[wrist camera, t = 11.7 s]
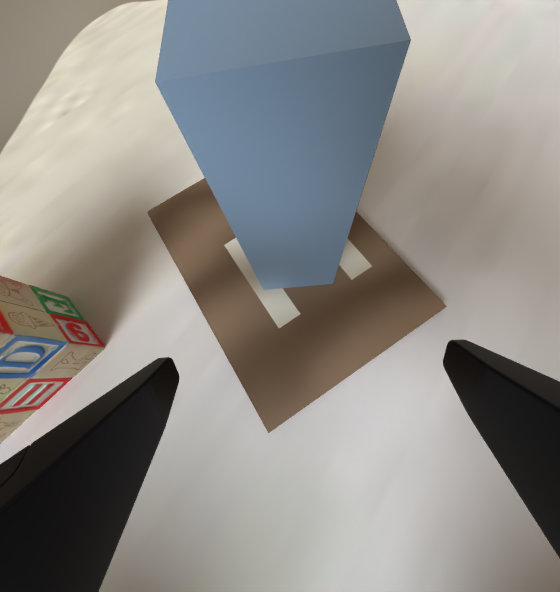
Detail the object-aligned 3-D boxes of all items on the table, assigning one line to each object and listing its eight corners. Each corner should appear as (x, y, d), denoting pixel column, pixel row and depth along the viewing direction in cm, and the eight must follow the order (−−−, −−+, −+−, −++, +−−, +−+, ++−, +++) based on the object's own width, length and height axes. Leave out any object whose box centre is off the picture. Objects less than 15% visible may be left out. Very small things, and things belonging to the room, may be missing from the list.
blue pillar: (332, 283, 17) (411, 39, 4) (263, 289, 17) (154, 81, 5) (324, 223, 18) (365, -83, 6) (261, 230, 19) (175, -44, 6)
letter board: (441, 308, 16) (446, 306, 15) (270, 430, 15) (268, 433, 14) (281, 139, 22) (281, 132, 22) (151, 216, 21) (146, 211, 20)
